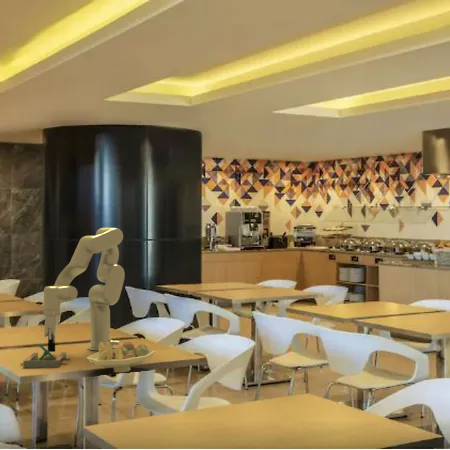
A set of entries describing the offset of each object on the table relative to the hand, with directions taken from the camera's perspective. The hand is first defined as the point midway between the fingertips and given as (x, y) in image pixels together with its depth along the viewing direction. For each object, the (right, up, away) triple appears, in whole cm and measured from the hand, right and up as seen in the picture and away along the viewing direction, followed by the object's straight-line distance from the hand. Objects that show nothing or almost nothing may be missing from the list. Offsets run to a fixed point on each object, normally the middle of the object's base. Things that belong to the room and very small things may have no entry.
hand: (51, 351), depth 354 cm
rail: (+2, -2, -18) cm, 18 cm away
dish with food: (+38, -2, -39) cm, 54 cm away
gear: (+1, -2, -12) cm, 12 cm away
